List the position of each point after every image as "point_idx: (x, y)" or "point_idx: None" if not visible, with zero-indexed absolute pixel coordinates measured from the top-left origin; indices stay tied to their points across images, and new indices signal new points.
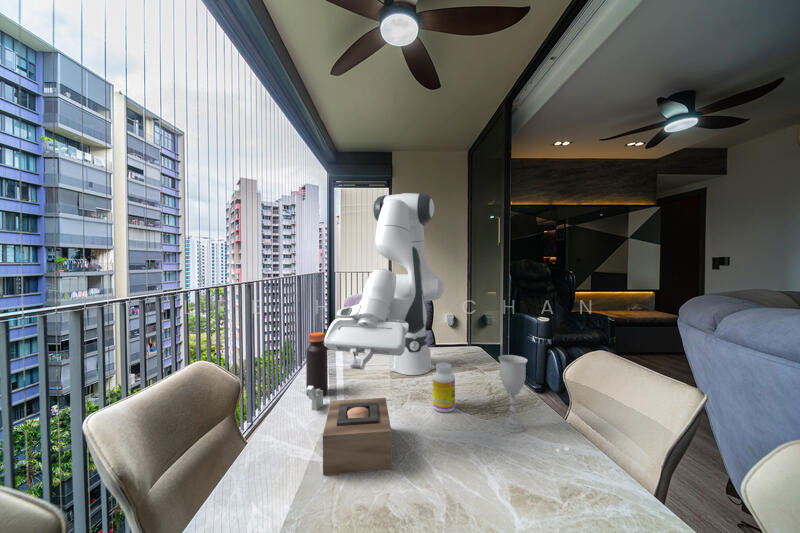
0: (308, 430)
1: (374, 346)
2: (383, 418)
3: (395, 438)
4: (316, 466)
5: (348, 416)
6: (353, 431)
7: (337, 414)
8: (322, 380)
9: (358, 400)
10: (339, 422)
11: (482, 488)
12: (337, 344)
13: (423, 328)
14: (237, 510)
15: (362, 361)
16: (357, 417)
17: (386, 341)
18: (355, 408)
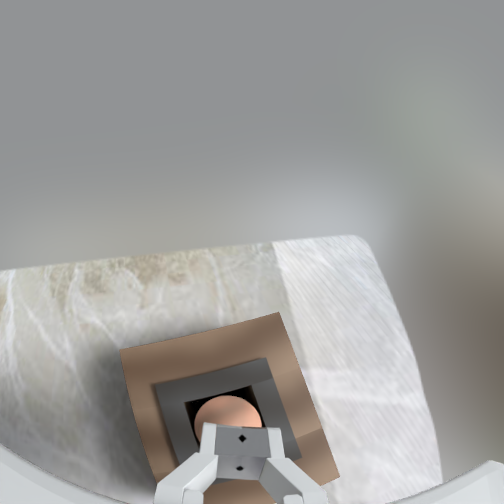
0: (360, 451)
1: (108, 500)
2: (147, 410)
3: None
4: None
5: (249, 403)
6: (211, 339)
7: (288, 413)
8: None
9: (257, 501)
10: (260, 361)
11: (22, 323)
12: (435, 487)
13: None
14: (340, 255)
15: (205, 443)
16: (219, 396)
17: (8, 493)
18: None
